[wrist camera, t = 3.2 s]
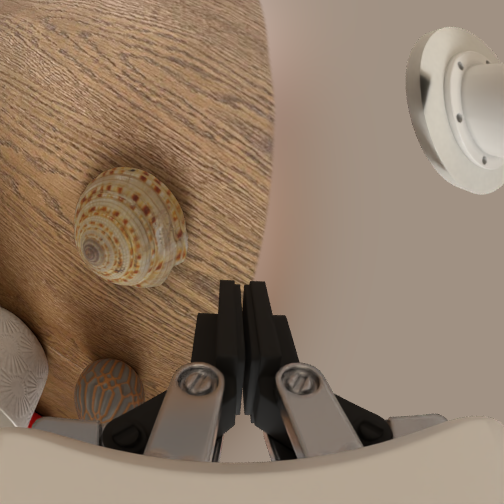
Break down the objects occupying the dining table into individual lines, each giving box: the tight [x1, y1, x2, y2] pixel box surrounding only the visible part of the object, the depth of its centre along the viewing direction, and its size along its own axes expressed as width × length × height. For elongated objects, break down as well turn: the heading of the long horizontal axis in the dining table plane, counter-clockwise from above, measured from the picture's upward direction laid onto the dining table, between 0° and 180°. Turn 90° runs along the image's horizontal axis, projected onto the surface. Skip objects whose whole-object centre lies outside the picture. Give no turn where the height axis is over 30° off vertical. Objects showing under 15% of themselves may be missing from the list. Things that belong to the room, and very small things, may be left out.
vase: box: [74, 358, 145, 423], centre depth 20 cm, size 7×7×9 cm
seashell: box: [74, 167, 188, 288], centre depth 17 cm, size 8×6×8 cm
